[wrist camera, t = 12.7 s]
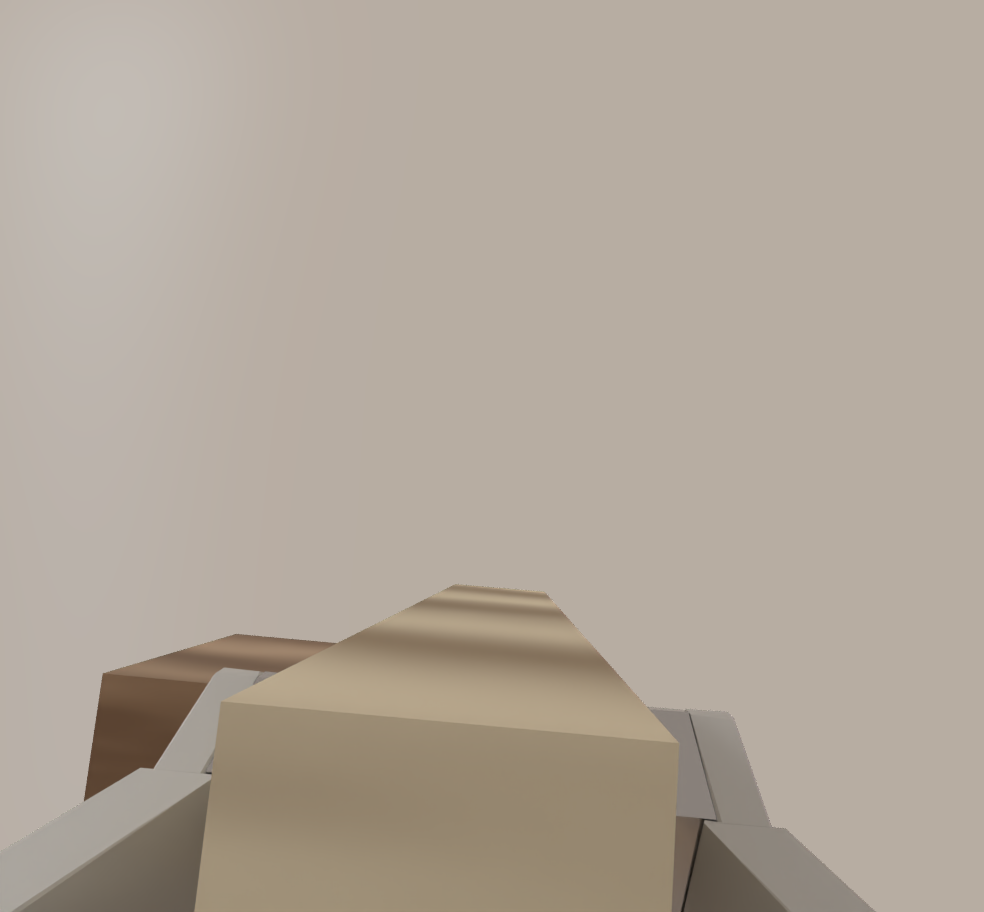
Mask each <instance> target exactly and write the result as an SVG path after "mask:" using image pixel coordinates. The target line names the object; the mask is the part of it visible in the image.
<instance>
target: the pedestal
mask: <svg viewBox="0 0 984 912" xmlns="http://www.w3.org/2000/svg"><path fill="white" fill-rule="evenodd" d="M335 644H337V643H328V642H317V641H306V640H294V639H284V638H273V637H262V636H251V635H240V634H235V635H232V636H228V637H225V638H221V639H218V640H215V641H211V642H208V643H204V644H201V645H197V646H194V647H191V648H187V649H184V650H181V651H177V652H174V653H171V654H167V655H164V656H160V657H157V658H154V659H150V660H147V661H144V662H140V663H137V664H133V665H130V666H126V667H123V668H120V669H116V670H113V671H110V672H107V673H103V676H102V683H101V689H100V696H99V703H98V710H97V716H96V723H95V730H94V737H93V743H92V750H91V758H90V763H89V771H88V777H87V784H86V791H85V797H84V801H86V800H87V799H89V798H91V797H92V796H94V795H96V794H97V793H99V792H101V791H102V790H104V789H106V788H107V787H109V786H111V785H112V784H114V783H116V782H117V781H119V780H121V779H122V778H124V777H126V776H127V775H129V774H131V773H132V772H134V771H136V770H137V769H139V768H149V769H154V767H155V765H156V764H157V762H158V761H159V759H160V758H161V756H162V755H163V753H164V751H165V750H166V748H167V747H168V745H169V744H170V742H171V741H172V739H173V737H174V736H175V734H176V733H177V731H178V730H179V728H180V726H181V725H182V723H183V722H184V720H185V719H186V717H187V716H188V714H189V712H190V711H191V709H192V708H193V706H194V705H195V703H196V702H197V700H198V698H199V697H200V695H201V694H202V692H203V691H204V689H205V687H206V686H207V684H208V683H209V681H210V680H211V678H212V677H213V675H214V674H215V673H216V672H218V671H220V670H221V669H223V668H233V669H242V670H251V671H260V672H265V671H267V672H276V673H279V672H281V671H283V670H285V669H287V668H289V667H291V666H293V665H295V664H297V663H299V662H301V661H303V660H305V659H307V658H309V657H311V656H313V655H315V654H317V653H319V652H321V651H323V650H325V649H327V648H329V647H331V646H333V645H335Z"/></svg>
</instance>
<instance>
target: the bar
mask: <svg viewBox="0 0 984 912" xmlns="http://www.w3.org/2000/svg"><path fill="white" fill-rule="evenodd" d="M678 760H679V742H678V741H677V740H676V739H675V738H674V737H673V736H672V734H671V733H670V732H669V731H668V730H667V729H666V728H665V727H664V725H663V724H662V723H661V722H660V721H659V720H658V719H657V718H656V716H655V715H654V714H653V713H652V712H651V711H650V710H649V709H648V707H647V706H646V705H645V704H644V703H643V702H642V701H641V700H640V699H639V697H638V696H637V695H636V694H635V693H634V692H633V691H632V690H631V688H630V687H629V686H628V685H627V684H626V683H625V682H624V681H623V680H622V678H621V677H620V676H619V675H618V674H617V673H616V672H615V670H614V669H613V668H612V667H611V666H610V665H609V664H608V663H607V661H606V660H605V659H604V658H603V657H602V656H601V655H600V654H599V652H597V650H596V649H595V648H594V647H593V646H592V645H591V644H590V642H589V641H588V640H587V639H586V638H585V637H584V636H583V634H582V633H581V632H580V631H579V630H578V629H577V628H576V627H575V626H574V624H572V622H571V621H570V620H569V619H568V618H567V617H566V615H565V614H564V613H563V612H562V611H561V610H560V609H559V608H558V607H557V605H556V604H555V603H554V602H553V601H552V600H551V599H550V598H549V596H548V595H547V594H546V593H545V592H542V591H529V590H518V589H506V588H494V587H481V586H469V585H459V584H455V585H453V586H451V587H449V588H447V589H445V590H443V591H441V592H439V593H437V594H435V595H433V596H431V597H429V598H427V599H425V600H423V601H421V602H419V603H417V604H415V605H413V606H411V607H409V608H407V609H405V610H403V611H401V612H399V613H397V614H395V615H393V616H391V617H389V618H387V619H385V620H383V621H381V622H379V623H377V624H375V625H373V626H371V627H369V628H367V629H365V630H363V631H361V632H359V633H357V634H355V635H353V636H351V637H349V638H347V639H345V640H343V641H341V642H339V643H337V644H335V645H333V646H331V647H329V648H327V649H325V650H323V651H321V652H319V653H317V654H315V655H313V656H311V657H309V658H307V659H305V660H303V661H301V662H299V663H297V664H295V665H293V666H291V667H289V668H287V669H285V670H283V671H281V672H279V673H277V674H275V675H273V676H271V677H269V678H267V679H265V680H263V681H261V682H259V683H257V684H255V685H253V686H251V687H249V688H247V689H245V690H243V691H241V692H239V693H237V694H235V695H233V696H231V697H229V698H227V699H225V700H223V701H221V704H220V712H219V720H218V728H217V736H216V744H215V752H214V760H213V768H212V776H211V784H210V791H209V799H208V807H207V815H206V823H205V831H204V839H203V847H202V855H201V863H200V871H199V879H198V887H197V894H196V902H195V910H194V912H672V891H673V869H674V848H675V826H676V804H677V782H678Z"/></svg>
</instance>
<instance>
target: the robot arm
mask: <svg viewBox="0 0 984 912" xmlns="http://www.w3.org/2000/svg"><path fill="white" fill-rule="evenodd" d="M275 674H277V673H276V672H267V671H265V672H260V671H251V670H242V669H233V668H223V669H221V670H220V671H218V672H216V673H215V674H214V675H213V677H212V678H211V680H210V681H209V683H208V684H207V686H206V687H205V689H204V691H203V692H202V694H201V695H200V697H199V698H198V700H197V702H196V703H195V705H194V706H193V708H192V709H191V711H190V712H189V714H188V716H187V717H186V719H185V720H184V722H183V723H182V725H181V726H180V728H179V730H178V731H177V733H176V734H175V736H174V737H173V739H172V741H171V742H170V744H169V745H168V747H167V748H166V750H165V751H164V753H163V755H162V756H161V758H160V759H159V761H158V762H157V764H156V765H155V767H154V769H149V768H139V769H137V770H136V771H134V772H132V773H131V774H129V775H127V776H126V777H124V778H122V779H121V780H119V781H117V782H116V783H114V784H112V785H111V786H109V787H107V788H106V789H104V790H102V791H101V792H99V793H97V794H96V795H94V796H92V797H91V798H89V799H87V800H86V801H84V802H82V803H81V804H79V805H77V806H76V807H74V808H72V809H71V810H69V811H67V812H66V813H64V814H62V815H61V816H59V817H57V818H56V819H54V820H52V821H51V822H49V823H47V824H46V825H44V826H43V827H41V828H39V829H37V830H36V831H34V832H32V833H31V834H29V835H27V836H26V837H24V838H22V839H21V840H19V841H17V842H16V843H14V844H12V845H11V846H9V847H8V848H6V849H4V850H2V851H1V852H0V912H194V910H195V902H196V894H197V887H198V879H199V871H200V863H201V855H202V847H203V839H204V831H205V823H206V815H207V807H208V799H209V791H210V784H211V776H212V768H213V760H214V752H215V744H216V736H217V728H218V720H219V712H220V704H221V701H223V700H225V699H227V698H229V697H231V696H233V695H235V694H237V693H239V692H241V691H243V690H245V689H247V688H249V687H251V686H253V685H255V684H257V683H259V682H261V681H263V680H265V679H267V678H269V677H271V676H273V675H275ZM648 709H649V710H650V711H651V712H652V713H653V714H654V715H655V716H656V718H657V719H658V720H659V721H660V722H661V723H662V724H663V725H664V727H665V728H666V729H667V730H668V731H669V732H670V733H671V734H672V736H673V737H674V738H675V739H676V740H677V741H678V742H679V760H678V782H677V804H676V826H675V848H674V869H673V891H672V912H875V911H874V910H873V909H872V908H871V907H870V906H869V905H868V904H867V903H866V902H865V901H864V900H862V899H861V898H860V897H859V896H858V895H857V894H856V893H855V892H854V891H853V890H852V889H850V888H849V887H848V886H847V885H846V884H845V883H844V882H843V881H842V880H841V879H839V877H838V876H836V875H835V874H834V873H833V872H832V871H831V870H830V869H829V868H828V867H827V866H826V865H825V864H823V863H822V862H821V861H820V860H819V859H818V858H817V857H816V856H815V855H814V854H813V853H812V852H810V851H809V850H808V849H807V848H806V847H805V846H804V845H803V844H802V843H801V842H800V841H799V840H798V839H796V838H795V837H794V836H793V835H792V834H791V833H790V832H789V831H788V830H787V829H784V828H774V827H772V826H771V823H770V820H769V817H768V814H767V812H766V809H765V806H764V803H763V800H762V797H761V794H760V791H759V789H758V786H757V783H756V780H755V777H754V774H753V772H752V769H751V766H750V763H749V760H748V757H747V754H746V751H745V748H744V746H743V743H742V740H741V737H740V734H739V731H738V728H737V726H736V723H735V720H734V718H733V717H732V716H731V715H730V714H729V713H728V712H721V711H706V710H691V709H686V710H685V711H684V710H678V709H665V708H654V707H648Z"/></svg>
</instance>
